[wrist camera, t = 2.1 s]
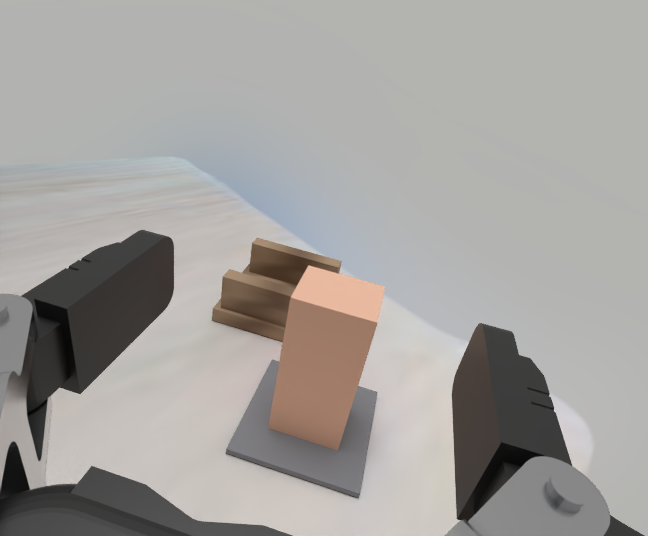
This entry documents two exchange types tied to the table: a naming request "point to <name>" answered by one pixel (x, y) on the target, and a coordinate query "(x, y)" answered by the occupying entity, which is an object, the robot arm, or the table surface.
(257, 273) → the slotted rack
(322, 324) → the tall salmon pink block
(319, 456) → the rubber mat
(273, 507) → the table surface
